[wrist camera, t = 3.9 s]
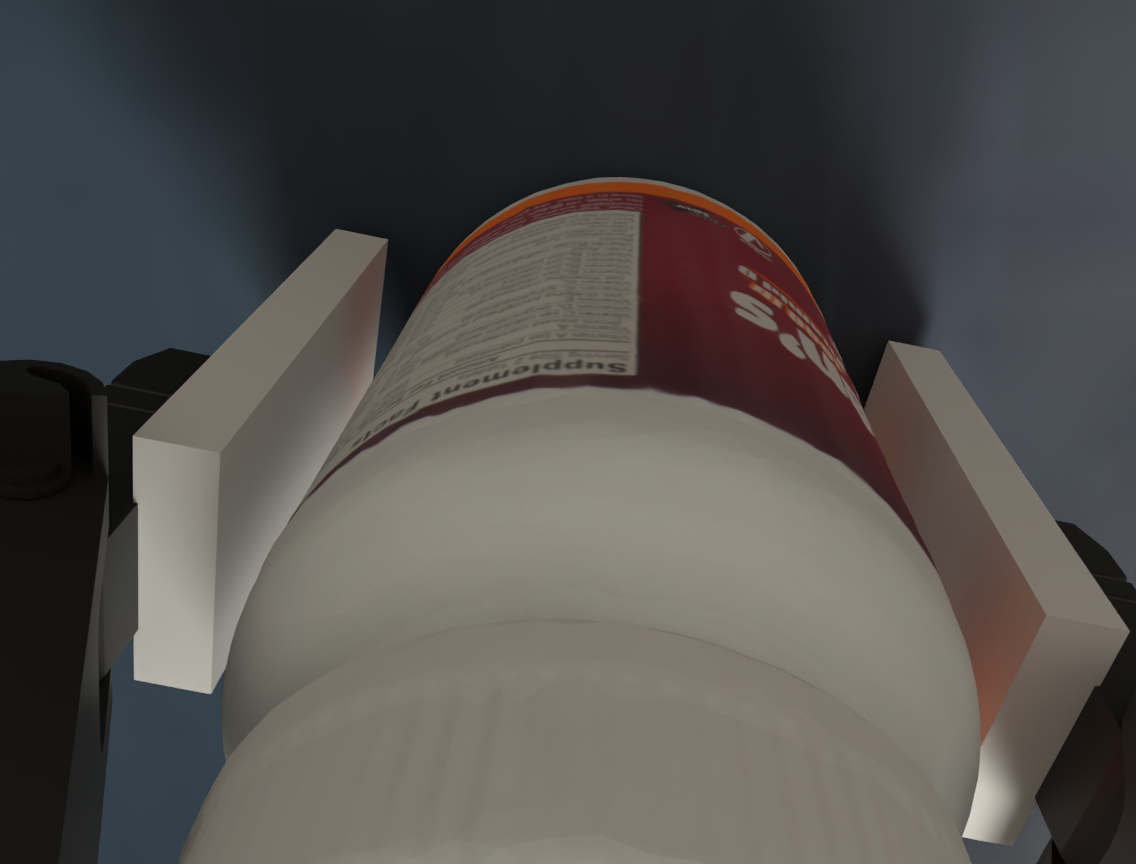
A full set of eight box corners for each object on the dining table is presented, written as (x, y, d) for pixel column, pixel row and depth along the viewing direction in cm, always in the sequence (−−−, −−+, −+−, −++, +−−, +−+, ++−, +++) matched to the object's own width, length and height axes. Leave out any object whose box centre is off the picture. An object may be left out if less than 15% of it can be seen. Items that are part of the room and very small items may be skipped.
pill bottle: (888, 445, 16) (1327, 1383, 6) (543, 598, 17) (411, 1531, 7) (706, 79, 14) (901, 550, 4) (332, 294, 15) (-270, 1030, 5)
